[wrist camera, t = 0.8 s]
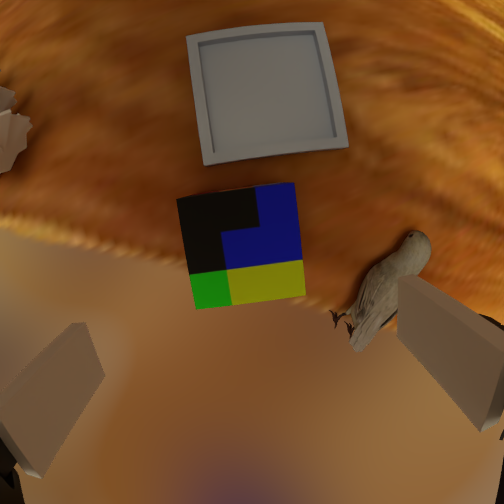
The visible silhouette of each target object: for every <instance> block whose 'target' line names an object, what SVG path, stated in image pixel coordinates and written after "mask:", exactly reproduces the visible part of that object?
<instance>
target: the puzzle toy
mask: <svg viewBox="0 0 504 504" xmlns="http://www.w3.org/2000/svg"><path fill="white" fill-rule="evenodd" d="M176 200H177V207H178V213H179V219H180V225H181V231H182V237H183V243H184V249H185V254H186V260H187V265H188V271H189V276H190V281H191V287H192V292H193V296H194V301H195V306H196V309H205V308H214V307H222V306H230V305H238V304H246V303H254V302H261V301H269V300H276V299H283V298H290V297H297V296H303V295H306V291H305V280H304V269H303V258H302V248H301V238H300V229H299V219H298V210H297V202H296V193H295V185H294V183H285V182H280V183H272V184H264V185H256V186H248V187H241V188H234V189H226V190H220V191H213V192H206V193H200V194H194V195H190V196H186V197H183V198H179V199H176Z"/></svg>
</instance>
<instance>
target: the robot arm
mask: <svg viewBox="0 0 504 504" xmlns="http://www.w3.org/2000/svg"><path fill="white" fill-rule="evenodd" d="M397 337H398V339H399V340H400V341H401V342H402V343H403V344H404V345H405V346H406V347H407V348H408V349H409V351H410V352H411V353H412V354H413V355H414V356H415V357H416V358H417V360H418V361H419V362H420V363H421V364H422V365H423V366H424V367H425V369H426V370H427V371H428V372H429V373H430V374H431V375H432V376H433V378H434V379H435V380H436V381H437V382H438V383H439V384H440V386H441V387H442V388H443V389H444V390H445V391H446V393H447V394H448V395H449V396H450V397H451V398H452V400H453V401H454V402H455V403H456V404H457V405H458V407H460V409H461V410H462V411H463V413H464V414H465V415H466V416H467V417H468V419H469V420H470V421H471V422H472V423H473V425H474V426H475V427H476V428H477V429H478V430H479V432H482V431H484V430H486V429H488V428H490V427H491V426H493V425H495V424H497V423H498V422H499V420H500V417H501V415H502V412H503V409H504V325H501V323H499V322H497V321H496V320H494V319H493V318H491V317H488V316H485V315H482V314H477V313H476V312H474V311H473V310H471V309H469V308H468V307H466V306H465V305H463V304H462V303H460V302H458V301H457V300H455V299H454V298H452V297H450V296H449V295H447V294H446V293H444V292H442V291H441V290H439V289H438V288H436V287H434V286H433V285H431V284H429V283H428V282H426V281H424V280H423V279H421V278H419V277H418V276H416V275H414V274H411V275H406V276H401V277H398V316H397ZM104 377H105V373H104V371H103V369H102V366H101V363H100V361H99V358H98V356H97V353H96V351H95V348H94V345H93V342H92V339H91V337H90V334H89V331H88V328H87V325H86V323H85V322H83V323H72V324H71V325H70V326H68V327H67V328H66V329H65V330H64V331H63V332H62V333H61V334H60V335H59V336H58V337H56V338H55V339H54V340H53V341H52V342H51V343H50V344H49V345H48V346H47V347H46V348H45V349H44V350H43V351H42V352H40V353H39V354H38V355H37V356H36V357H35V358H34V359H33V360H32V361H31V362H30V363H29V364H28V365H27V366H26V367H25V368H24V369H23V370H22V371H21V372H20V373H19V374H18V375H17V376H16V377H15V378H14V379H13V380H12V381H11V382H10V383H9V384H8V385H7V386H6V387H5V388H4V389H3V390H2V391H1V392H0V504H25V503H24V498H23V494H22V490H21V484H20V479H19V475H18V473H17V471H16V470H15V469H14V468H13V467H14V466H15V464H16V463H18V464H19V465H20V466H21V468H22V469H23V470H24V472H25V473H26V474H28V475H31V476H34V477H37V478H41V479H42V478H43V477H44V475H45V473H46V471H47V470H48V468H49V466H50V465H51V463H52V461H53V459H54V457H55V456H56V454H57V452H58V451H59V449H60V447H61V446H62V444H63V443H64V441H65V439H66V438H67V436H68V434H69V432H70V431H71V429H72V428H73V426H74V425H75V423H76V421H77V420H78V418H79V416H80V415H81V413H82V412H83V410H84V408H85V407H86V405H87V404H88V402H89V401H90V399H91V397H92V396H93V394H94V393H95V391H96V390H97V388H98V387H99V385H100V384H101V382H102V380H103V379H104ZM503 438H504V430H503V432H502V434H501V437H500V440H503ZM495 504H504V458H503V465H502V471H501V477H500V483H499V488H498V493H497V497H496V502H495Z"/></svg>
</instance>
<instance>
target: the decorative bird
mask: <svg viewBox="0 0 504 504" xmlns="http://www.w3.org/2000/svg"><path fill="white" fill-rule="evenodd" d="M430 255H431V244H430V240H429V239H428V237H427V236H426V235H425V234H424V233H423V232H421V231H415V230H413V231H410V232H409V234H408V236H407V238H406V239H405V240H404V242H403V244H402V245H401V247H400V248H399V250H398V251H397V252H394V253H392V254H391V255H389V256H388V257H387V258H386V259H384V260H383V261H381V262H380V263H378V264H376V265H375V266H373V267H372V268H371V269H370V271H369V272H368V274H367V275H366V277H365V279H364V280H363V282H362V284H361V287H360V289H359V292H358V296H357V300H356V301H355V303H354V304H353V305H352V306H351V307H350V308H349V309H348V310H347V311H346V312H345V313H342V314H341V315H339V316H338V317H337V313H336V312H335V313H336V314H334V313H333V312H332V311H331V312H332V315H333V321H334V322H335V328H336V326H337V322H338V320H339V319H340V317H342V316H344V315H348V314H351V316H352V320H353V324H354V327H353V328H352V326H351V324H350V323H349V324H350V327H349V325H348V324H347V323H346V322H345V323H346V324H347V328H348V332H349V334H350V340H349V343H350V344H351V345H352V346H353V350H354V351H356V352H359V351H360V352H362V351H363V350H364V348H365V347H366V345H368V344H369V343H370V341H371V340H372V339H373V337H374V336H375V335H376V333H377V332H378V331H379V330H380V329H381V328H383V327H384V326H385V325H387V324H388V323H389V322H390V321H391V320H392V319H393V318H394V317H395V316H396V314H397V313H398V277H401V276H406V275H411V274H414V275H416V276H417V275H418V274H419V272H420V271H421V270H422V269H423V267H424V266H425V265H426V263H427V262H428V260H429V258H430ZM329 311H330V310H329ZM351 328H352V329H351ZM354 329H355V331H354V334H353V336H352V332H353V330H354Z"/></svg>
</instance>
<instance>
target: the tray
mask: <svg viewBox="0 0 504 504" xmlns="http://www.w3.org/2000/svg"><path fill="white" fill-rule="evenodd" d="M186 39H187V48H188V56H189V64H190V72H191V79H192V87H193V94H194V102H195V109H196V116H197V123H198V130H199V137H200V144H201V150H202V157H203V163H204V166H206V167H208V166H214V165H219V164H225V163H232V162H238V161H244V160H251V159H258V158H265V157H273V156H280V155H288V154H297V153H306V152H315V151H325V150H336V149H344V148H347V147H349V144H348V138H347V132H346V126H345V120H344V114H343V109H342V104H341V98H340V93H339V88H338V84H337V79H336V74H335V70H334V65H333V61H332V57H331V52H330V48H329V44H328V40H327V36H326V33H325V29H324V25H323V22H298V23H278V24H265V25H255V26H245V27H237V28H230V29H223V30H217V31H211V32H205V33H199V34H194V35H189V36H186Z"/></svg>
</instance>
